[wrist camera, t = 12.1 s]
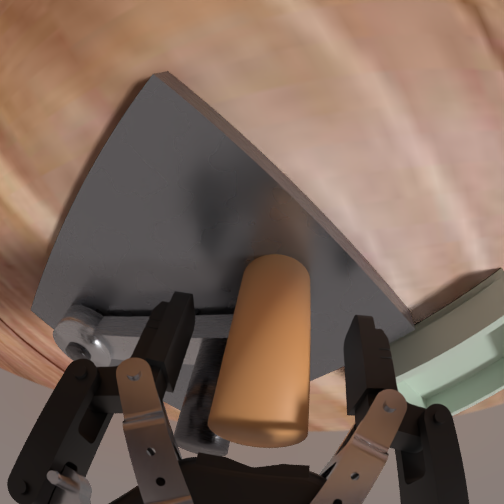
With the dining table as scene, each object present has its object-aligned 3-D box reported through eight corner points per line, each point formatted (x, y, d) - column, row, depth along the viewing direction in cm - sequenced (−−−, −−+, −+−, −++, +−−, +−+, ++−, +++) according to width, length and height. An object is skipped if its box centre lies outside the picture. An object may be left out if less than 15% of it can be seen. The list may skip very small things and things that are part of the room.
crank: (87, 346, 21) (49, 420, 15) (56, 305, 18) (7, 382, 13) (308, 350, 17) (303, 466, 11) (300, 295, 15) (293, 434, 9)
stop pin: (229, 279, 15) (188, 422, 9) (276, 241, 13) (255, 402, 7) (275, 314, 16) (258, 452, 10) (324, 284, 14) (327, 435, 8)
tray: (362, 353, 20) (366, 390, 17) (501, 267, 14) (522, 301, 12) (419, 400, 23) (424, 427, 21) (521, 342, 18) (533, 369, 15)
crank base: (39, 297, 21) (30, 310, 20) (168, 71, 11) (153, 73, 10) (202, 406, 27) (198, 419, 26) (409, 310, 17) (415, 329, 16)
